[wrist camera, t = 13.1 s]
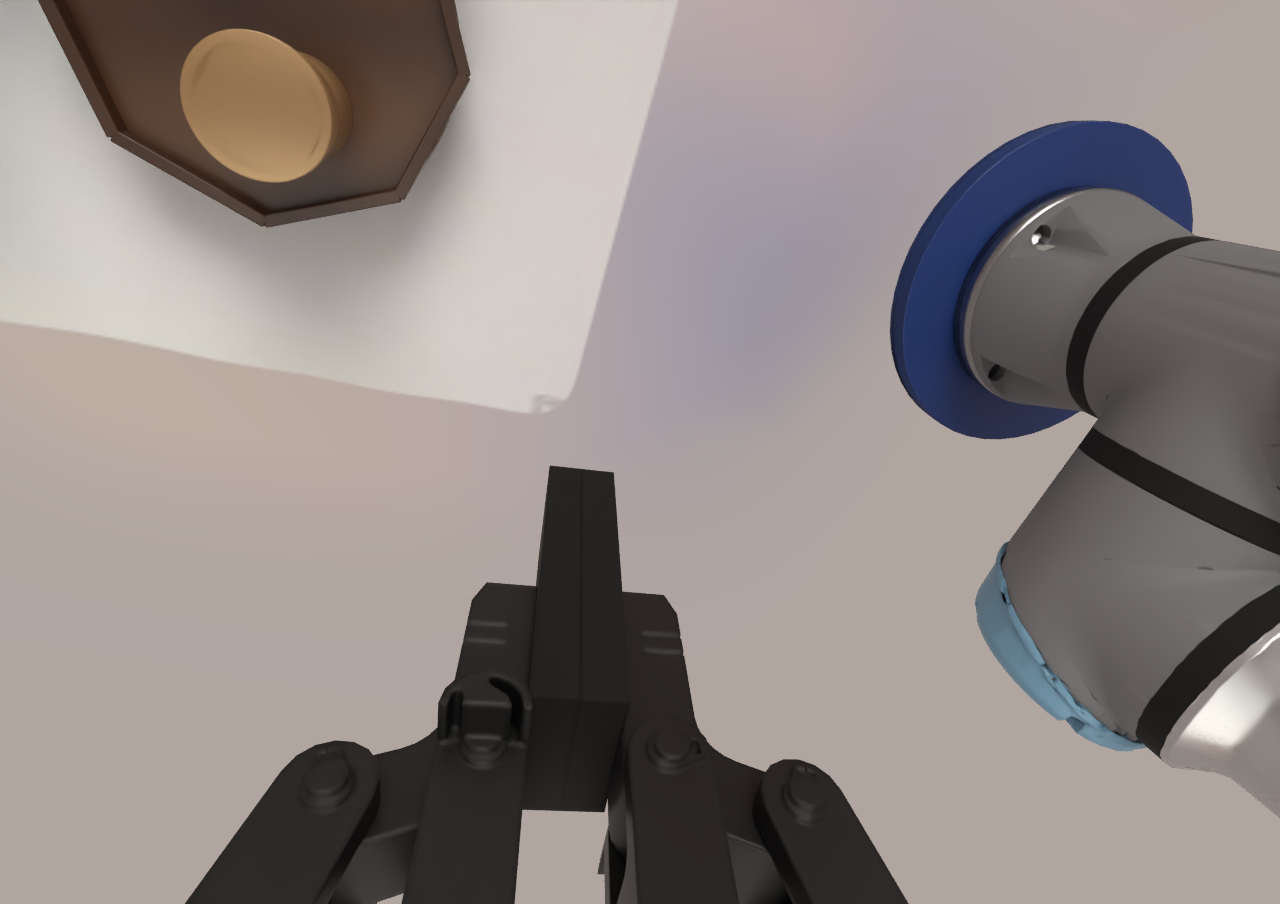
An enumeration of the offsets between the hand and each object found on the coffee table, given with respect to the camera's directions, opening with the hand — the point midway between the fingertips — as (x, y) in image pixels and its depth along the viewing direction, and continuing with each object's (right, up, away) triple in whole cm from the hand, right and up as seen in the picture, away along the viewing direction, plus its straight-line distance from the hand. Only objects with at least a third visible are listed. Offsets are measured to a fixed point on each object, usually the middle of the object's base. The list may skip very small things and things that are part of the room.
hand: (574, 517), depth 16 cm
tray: (-16, +22, +15) cm, 31 cm away
